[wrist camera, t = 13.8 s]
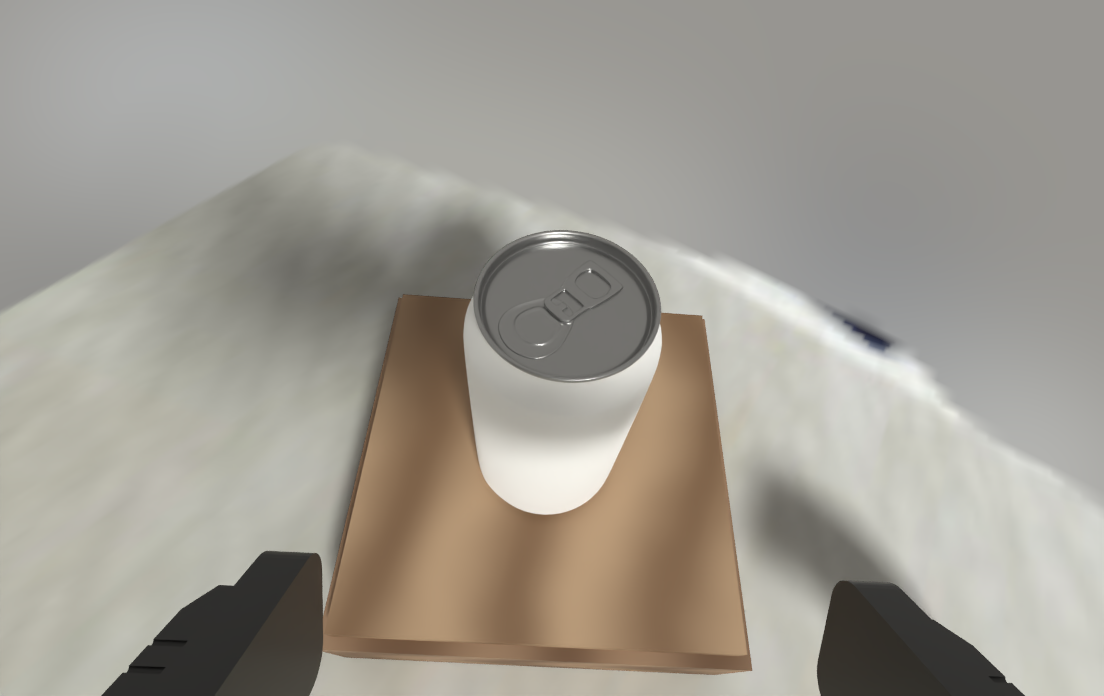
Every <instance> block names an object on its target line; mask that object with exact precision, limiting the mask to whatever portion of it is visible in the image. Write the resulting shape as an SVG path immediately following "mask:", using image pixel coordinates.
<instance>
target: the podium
mask: <svg viewBox="0 0 1104 696" xmlns="http://www.w3.org/2000/svg"><path fill="white" fill-rule="evenodd" d="M470 301H471V299H461V298H447V297H433V296H419V295H405V294H403V297H402V298H399V299H398V303H397V307H396V311H395V316H394V320H393V324H392V328H391V333H390V337H389V341H388V345H387V349H386V354H385V358H384V362H383V366H382V370H381V375H380V379H379V383H378V387H377V391H376V396H375V400H374V404H373V408H372V413H371V417H370V421H369V425H368V429H367V434H366V438H365V442H364V446H363V450H362V455H361V459H360V463H359V467H358V472H357V476H356V480H355V484H354V488H353V493H352V497H351V501H350V505H349V509H348V514H347V518H346V522H345V526H344V531H343V535H342V539H341V543H340V547H339V552H338V556H337V560H336V564H335V568H334V573H333V577H332V581H331V585H330V590H329V594H328V598H327V602H326V606H325V611H324V615H323V650H322V651H323V652H327V653H331V654H335V655H339V656H343V657H349V658H371V659H392V660H413V661H434V662H455V663H476V664H497V665H518V666H539V667H560V668H581V669H602V670H623V671H644V672H665V673H686V674H707V675H718V674H726V673H735V672H744V671H752V665H751V658H750V650H749V643H748V636H747V628H746V621H745V614H744V606H743V599H742V592H741V584H740V577H739V570H738V562H737V555H736V548H735V540H734V533H733V526H732V518H731V511H730V503H729V496H728V489H727V481H726V474H725V467H724V459H723V452H722V445H721V437H720V430H719V423H718V415H717V408H716V401H715V393H714V386H713V379H712V371H711V364H710V357H709V349H708V342H707V335H706V327H705V320H704V319H702V316H699V315H685V314H671V313H661V320H660V326H661V333H662V347H661V353H660V358H659V362H658V366H657V368H656V371H655V374H654V376H653V379H652V381H651V383H650V386H649V388H648V390H647V392H646V395H645V397H644V399H643V401H642V404H641V406H640V408H639V410H638V413H637V415H636V417H635V419H634V421H633V424H632V426H631V428H630V430H629V432H628V435H627V437H626V439H625V441H624V443H623V445H622V448H621V450H620V452H619V454H618V456H617V458H616V460H615V463H614V465H613V467H612V469H611V471H610V473H609V475H608V477H607V479H606V480H605V482H604V484H603V485H602V487H601V488H600V489H599V491H598V492H597V493H596V494H595V495H594V496H593V497H592V498H591V499H590V500H588V501H587V502H586V503H584V504H583V505H581V506H579V507H577V508H575V509H573V510H570V511H567V512H563V513H559V514H549V515H543V514H534V513H529V512H526V511H523V510H520V509H518V508H516V507H514V506H512V505H511V504H509V503H508V502H506V501H505V500H503V499H502V498H501V497H500V496H498V495H497V494H496V493H495V492H494V491H493V490H492V489H491V487H490V486H489V485H488V483H487V482H486V480H485V479H484V477H483V474H482V472H481V469H480V465H479V461H478V455H477V449H476V442H475V435H474V427H473V419H472V412H471V404H470V396H469V388H468V379H467V371H466V362H465V353H464V339H463V332H464V321H465V315H466V312H467V308H468V306H469V303H470Z"/></svg>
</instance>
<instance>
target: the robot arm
mask: <svg viewBox="0 0 1104 696" xmlns="http://www.w3.org/2000/svg"><path fill="white" fill-rule="evenodd" d="M322 650H323V599H322V563H321V559H320V556H319V555H318V554H317V553H300V552H279V551H265V552H263V553H262V554H261V555H260V556H259V557H258V558H257V559H256V560H255V561H254V562H253V564H252V565H251V566H250V567H249V568H248V570H247V571H246V572H245V573H244V574H243V576H242V577H241V578H240V579H239V580H238V582H237V583H236V584H235V585H234V586H226V585H218V586H217V587H215V588H214V589H212V590H211V591H209V592H207V593H206V594H204V595H203V596H201V597H200V598H198V599H196V600H195V601H193V602H192V603H190V604H189V605H187V606H186V607H184V608H182V609H181V610H180V611H179V612H178V613H177V614H176V616H175V617H174V618H173V619H172V620H171V621H170V622H169V623H168V624H167V625H166V626H165V627H164V629H163V630H162V631H161V632H160V633H159V634H158V635H157V636H156V637H155V638H154V641H153V644H152V645H151V646H149V645H148V646H147V647H146V648H145V649H144V650H143V651H142V652H141V653H140V654H139V656H138V657H137V658H136V659H135V660H134V661H133V662H132V663H131V664H130V665H129V669H128V671H127V673H122V674H121V675H120V676H119V677H118V678H117V679H116V680H115V682H114V683H113V684H112V685H111V686H110V687H109V688H108V689H107V690H106V691H105V692H104V693H103V695H102V696H309V695H310V693H311V691H312V688H313V686H314V683H315V681H316V677H317V674H318V671H319V667H320V662H321V657H322ZM817 678H818V685H819V690H820V694H821V696H1025V695H1024V694H1023V693H1021V692H1020V691H1019V690H1018V689H1017V688H1016V687H1015V686H1014V685H1013V684H1012V683H1007V682H1006V680H1005V676H1004V675H1003V674H1002V673H1001V672H1000V671H999V670H998V669H997V668H996V667H994V666H993V665H992V664H991V663H990V662H989V661H988V660H987V659H986V658H985V657H984V656H983V655H982V654H981V653H980V652H979V651H978V650H977V649H976V648H975V647H974V646H973V645H971V644H969V643H968V642H966V641H965V640H963V639H962V638H960V637H959V636H957V635H956V634H954V633H953V632H951V631H950V630H948V629H947V628H945V627H944V626H942V625H941V624H939V623H938V622H936V621H934V620H931V619H930V618H929V617H928V616H927V615H926V614H925V613H924V612H923V611H922V610H921V609H920V608H919V607H918V606H917V605H916V604H915V603H914V602H913V601H912V600H911V599H910V598H909V597H908V596H907V595H906V594H905V593H904V592H903V591H902V590H901V589H900V588H899V587H898V586H896V585H894V584H892V583H884V582H864V581H840V582H838V583H837V584H836V586H835V587H834V589H833V592H832V596H831V601H830V606H829V610H828V615H827V620H826V625H825V630H824V634H823V639H822V644H821V649H820V653H819V658H818V664H817Z"/></svg>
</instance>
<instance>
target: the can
mask: <svg viewBox="0 0 1104 696" xmlns="http://www.w3.org/2000/svg"><path fill="white" fill-rule="evenodd" d="M660 320H661V303H660V297H659V293H658V290H657V288H656V285H655V283H654V281H653V279H652V277H651V276H650V274H649V273H648V271H647V270H646V268H645V267H644V266H643V265H642V264H641V263H640V262H639V261H638V260H637V259H636V258H635V257H634V256H633V255H632V254H630V253H629V252H628V251H626V250H625V249H624V248H622V247H620V246H619V245H617V244H615V243H613V242H611V241H609V240H607V239H604V238H602V237H599V236H596V235H592V234H589V233H584V232H578V231H569V230H553V231H544V232H539V233H534V234H531V235H527V236H524V237H522V238H519V239H517V240H515V241H513V242H511V243H509V244H508V245H506V246H504V247H503V248H502V249H500V250H499V251H498V252H497V253H496V254H494V255H493V256H492V257H491V259H490V260H489V261H488V262H487V263H486V265H485V266H484V268H483V269H482V271H481V273H480V275H479V277H478V279H477V282H476V285H475V290H474V295H473V297H472V299H471V301H470V303H469V306H468V308H467V312H466V315H465V321H464V332H463V339H464V353H465V362H466V371H467V379H468V388H469V396H470V404H471V412H472V419H473V427H474V435H475V442H476V449H477V455H478V461H479V465H480V469H481V472H482V474H483V477H484V479H485V480H486V482H487V483H488V485H489V486H490V487H491V489H492V490H493V491H494V492H495V493H496V494H497V495H498V496H500V497H501V498H502V499H503V500H505V501H506V502H508V503H509V504H511V505H512V506H514V507H516V508H518V509H520V510H523V511H526V512H529V513H534V514H543V515H549V514H559V513H563V512H567V511H570V510H573V509H575V508H577V507H579V506H581V505H583V504H584V503H586V502H587V501H588V500H590V499H591V498H592V497H593V496H594V495H595V494H596V493H597V492H598V491H599V489H600V488H601V487H602V485H603V484H604V482H605V480H606V479H607V477H608V475H609V473H610V471H611V469H612V467H613V465H614V463H615V460H616V458H617V456H618V454H619V452H620V450H621V448H622V445H623V443H624V441H625V439H626V437H627V435H628V432H629V430H630V428H631V426H632V424H633V421H634V419H635V417H636V415H637V413H638V410H639V408H640V406H641V404H642V401H643V399H644V397H645V395H646V392H647V390H648V388H649V386H650V383H651V381H652V379H653V376H654V374H655V371H656V368H657V366H658V362H659V358H660V353H661V347H662V333H661V326H660Z"/></svg>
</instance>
